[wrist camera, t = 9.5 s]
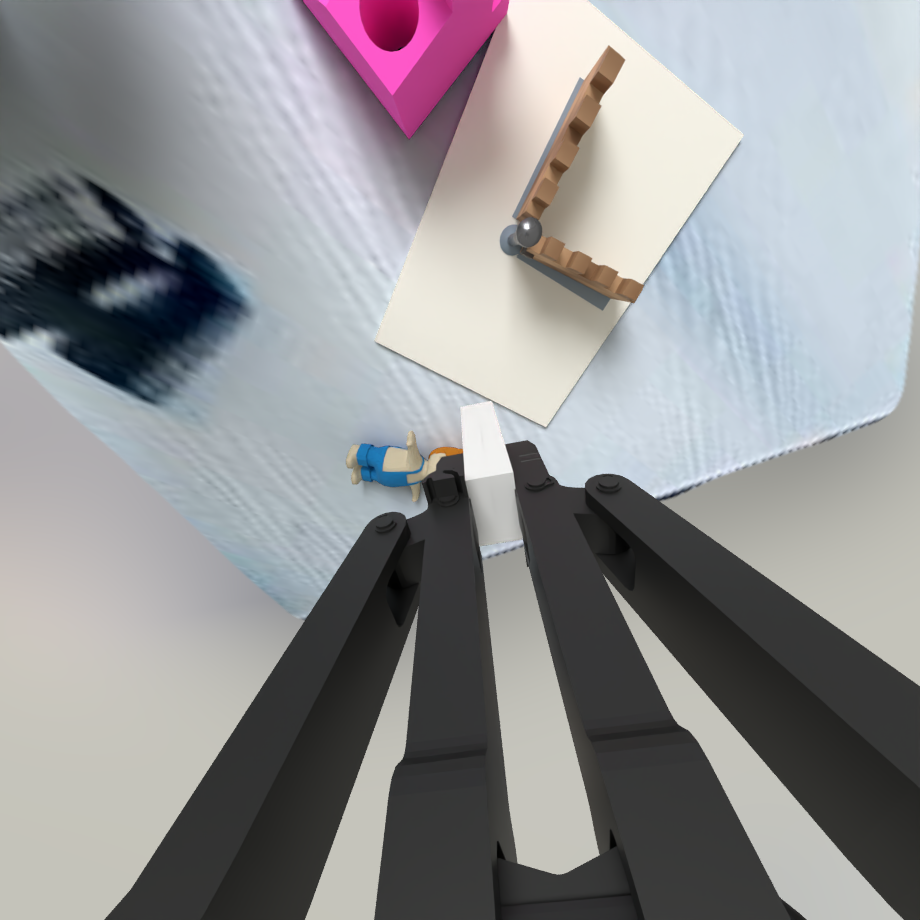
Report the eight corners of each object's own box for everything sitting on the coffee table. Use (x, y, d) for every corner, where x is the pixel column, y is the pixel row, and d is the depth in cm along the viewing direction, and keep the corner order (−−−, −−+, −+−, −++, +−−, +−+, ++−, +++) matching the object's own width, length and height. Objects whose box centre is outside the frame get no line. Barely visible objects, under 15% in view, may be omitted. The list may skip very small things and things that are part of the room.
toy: (334, 445, 35) (485, 462, 35) (352, 405, 39) (489, 419, 38) (355, 510, 44) (476, 524, 44) (369, 472, 48) (480, 485, 48)
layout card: (375, 340, 37) (374, 341, 36) (525, -48, 25) (527, -53, 24) (545, 426, 42) (546, 427, 41) (740, 136, 30) (744, 134, 29)
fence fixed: (527, 226, 32) (543, 217, 26) (515, 219, 32) (529, 207, 26) (596, 90, 28) (634, 43, 22) (583, 80, 28) (618, 30, 22)
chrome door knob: (499, 245, 33) (512, 238, 25) (509, 224, 32) (525, 211, 25) (516, 255, 33) (533, 252, 26) (526, 235, 32) (547, 225, 25)
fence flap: (516, 254, 33) (529, 251, 27) (525, 233, 32) (541, 225, 26) (609, 301, 35) (640, 308, 29) (620, 282, 34) (654, 285, 28)
